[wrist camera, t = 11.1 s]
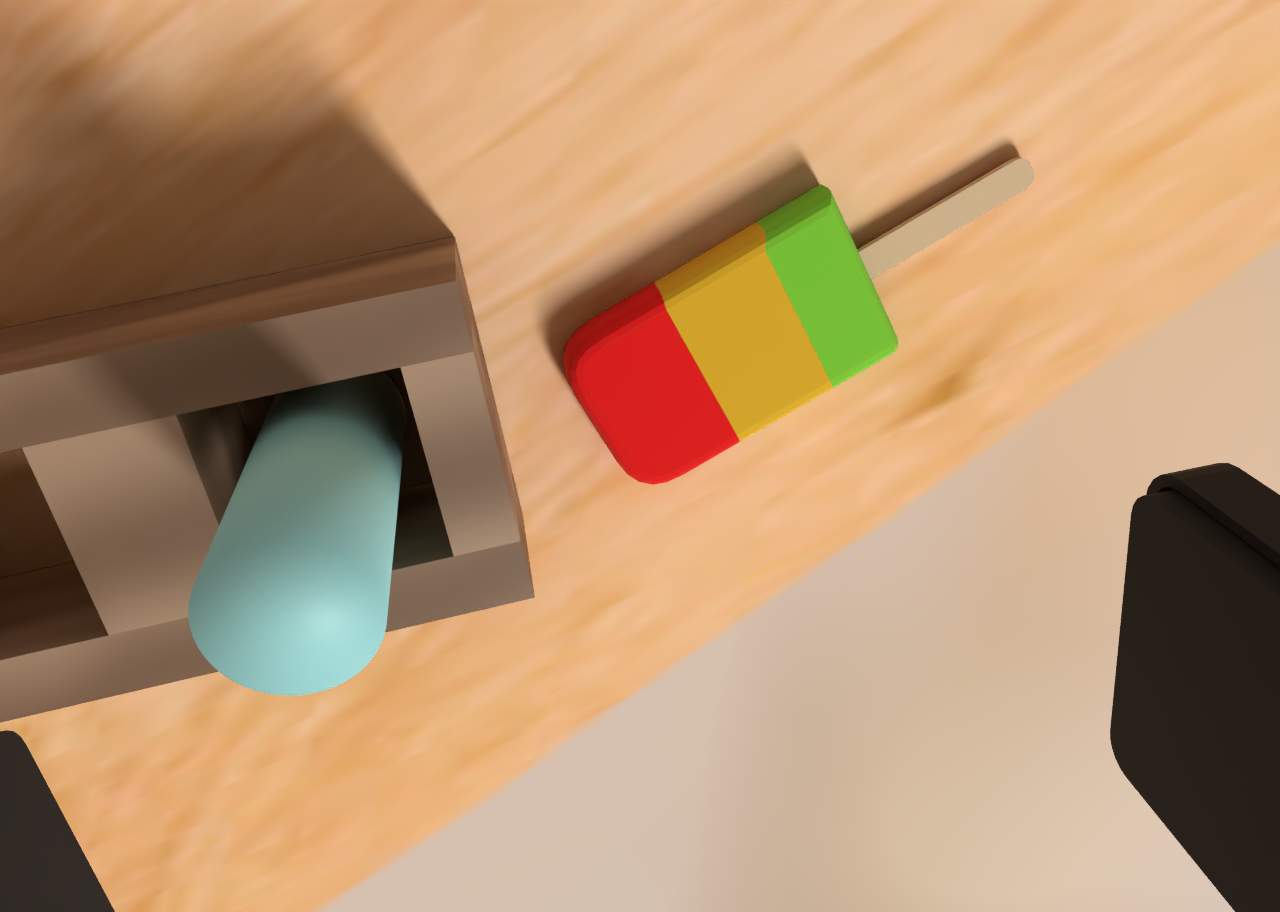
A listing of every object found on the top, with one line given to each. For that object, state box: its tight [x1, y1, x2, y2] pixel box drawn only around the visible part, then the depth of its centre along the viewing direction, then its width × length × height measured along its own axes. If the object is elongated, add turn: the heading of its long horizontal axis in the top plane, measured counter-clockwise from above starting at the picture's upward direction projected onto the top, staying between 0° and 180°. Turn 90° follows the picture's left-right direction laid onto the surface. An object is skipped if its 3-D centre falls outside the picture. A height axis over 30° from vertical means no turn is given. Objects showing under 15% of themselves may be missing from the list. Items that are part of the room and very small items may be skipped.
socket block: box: [0, 237, 534, 722], centre depth 28 cm, size 9×18×5 cm, turn 100°
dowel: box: [188, 371, 406, 696], centre depth 26 cm, size 4×4×11 cm
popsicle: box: [563, 157, 1034, 484], centre depth 31 cm, size 6×15×2 cm, turn 119°
